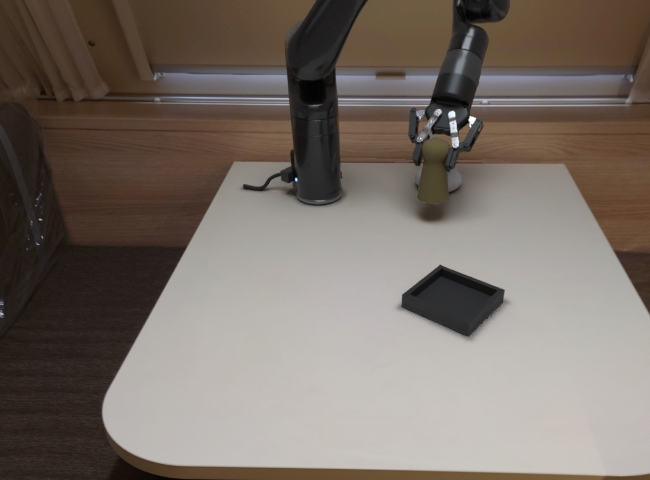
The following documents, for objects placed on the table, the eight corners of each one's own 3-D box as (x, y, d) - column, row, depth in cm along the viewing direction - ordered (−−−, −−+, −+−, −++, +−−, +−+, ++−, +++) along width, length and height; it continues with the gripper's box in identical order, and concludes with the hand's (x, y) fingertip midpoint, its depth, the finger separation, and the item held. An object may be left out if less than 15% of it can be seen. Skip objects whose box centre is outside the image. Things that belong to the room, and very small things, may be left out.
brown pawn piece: (447, 205, 106) (452, 148, 100) (414, 202, 107) (417, 145, 101) (450, 191, 111) (454, 135, 105) (418, 188, 112) (421, 133, 106)
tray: (401, 306, 88) (401, 294, 86) (439, 276, 94) (440, 264, 93) (468, 336, 82) (469, 323, 80) (503, 301, 88) (505, 289, 87)
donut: (417, 175, 128) (412, 193, 120) (417, 160, 126) (413, 178, 118) (462, 178, 127) (460, 197, 118) (463, 163, 125) (462, 181, 117)
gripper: (416, 66, 105) (389, 152, 103) (493, 75, 100) (467, 165, 98) (424, 88, 112) (399, 169, 110) (497, 97, 107) (473, 182, 105)
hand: (432, 167), depth 104 cm, fingers closed on brown pawn piece, 5 cm apart
